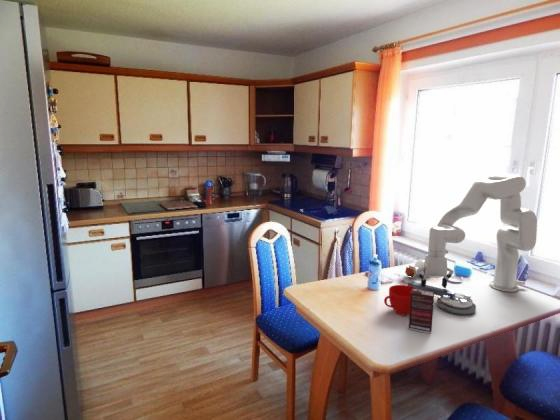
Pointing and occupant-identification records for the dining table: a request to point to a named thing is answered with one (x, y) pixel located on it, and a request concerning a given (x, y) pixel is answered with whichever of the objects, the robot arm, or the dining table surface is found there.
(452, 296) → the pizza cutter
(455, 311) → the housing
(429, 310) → the supplement box
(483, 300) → the dining table surface
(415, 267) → the potion bottle
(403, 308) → the ceramic cup
